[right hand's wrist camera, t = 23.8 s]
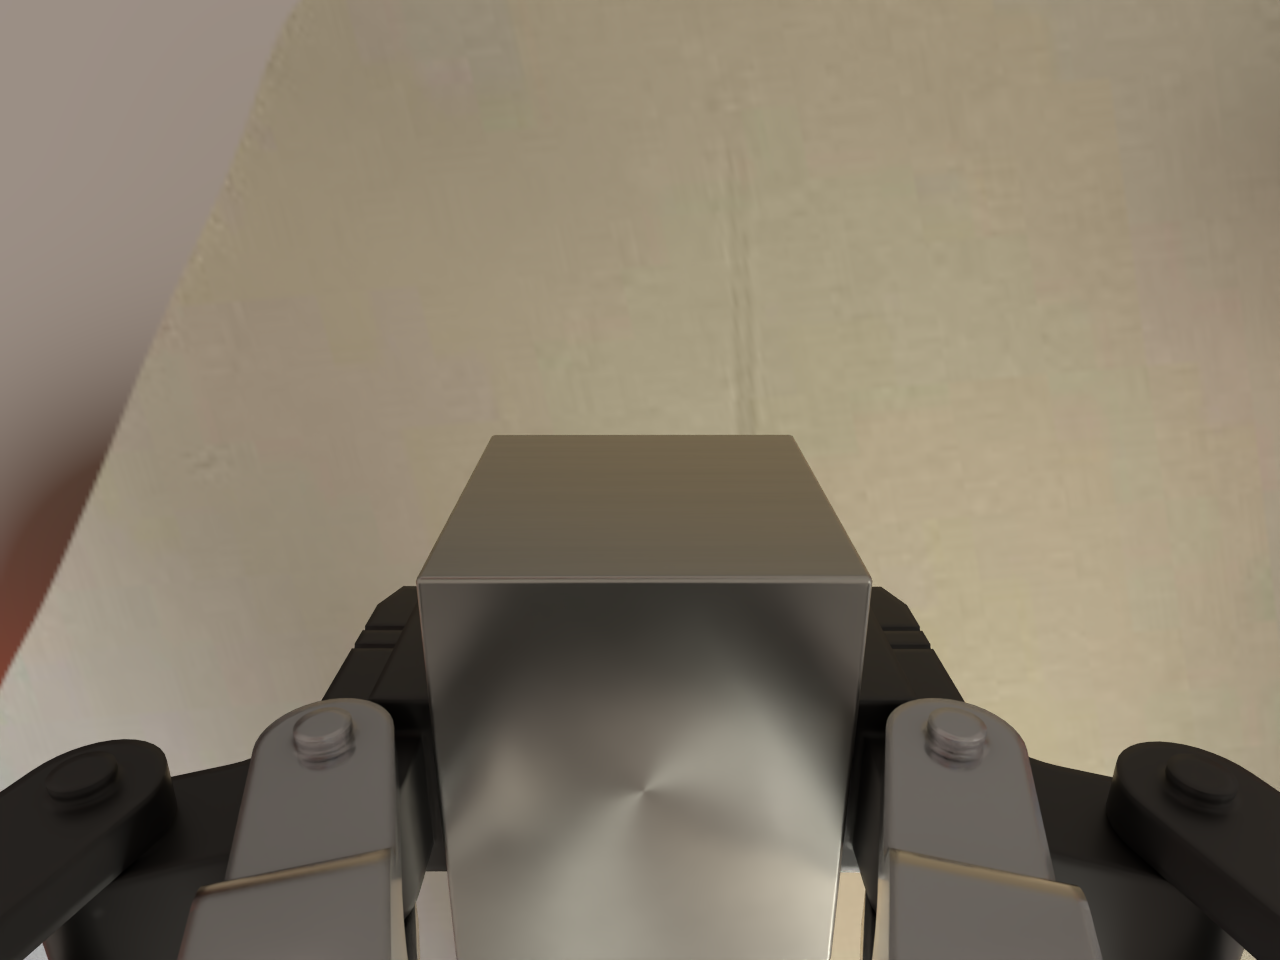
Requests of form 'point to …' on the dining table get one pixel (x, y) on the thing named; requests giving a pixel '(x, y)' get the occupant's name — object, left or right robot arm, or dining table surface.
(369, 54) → the dining table surface
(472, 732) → the block
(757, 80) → the dining table surface
